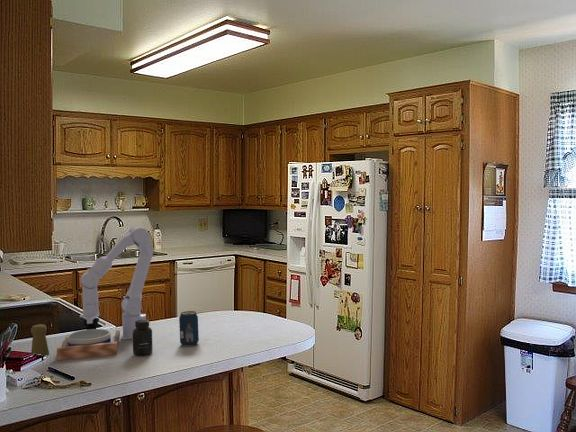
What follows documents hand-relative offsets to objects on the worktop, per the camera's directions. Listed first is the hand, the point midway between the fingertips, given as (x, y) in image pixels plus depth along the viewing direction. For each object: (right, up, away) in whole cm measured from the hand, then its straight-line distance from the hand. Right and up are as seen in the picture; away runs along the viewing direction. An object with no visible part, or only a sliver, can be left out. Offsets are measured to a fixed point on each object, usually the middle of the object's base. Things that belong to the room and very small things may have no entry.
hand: (92, 337), depth 213 cm
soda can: (+39, -1, -6) cm, 39 cm away
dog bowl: (+2, -3, -9) cm, 10 cm away
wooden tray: (+1, -2, -5) cm, 6 cm away
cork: (-14, -3, -14) cm, 20 cm away
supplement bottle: (+24, -2, -17) cm, 29 cm away
